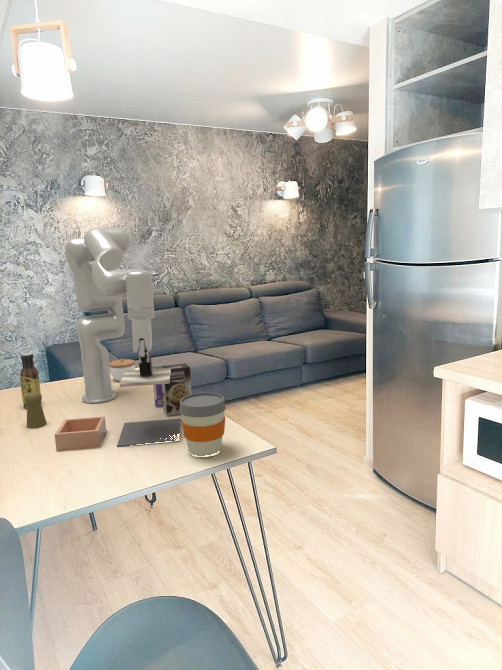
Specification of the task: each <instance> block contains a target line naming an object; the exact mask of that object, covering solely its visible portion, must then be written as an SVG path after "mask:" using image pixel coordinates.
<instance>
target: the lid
mask: <svg viewBox="0 0 502 670" xmlns="http://www.w3.org/2000/svg"><path fill="white" fill-rule="evenodd" d="M146 356H147V355H146ZM151 361H152V355H151V354H150V355H149V362H150V365H151V375H150V376H140V369H137V370H136V369H135V371H125V373H124V375H123V378H122V380H121V382H119V388H126V387H128V388H129V387H141V386H153V385H156V384H169V383H170V375H171V368H163V369H152V365H153V364H152V363H153V362H151Z"/></svg>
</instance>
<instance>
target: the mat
mask: <svg viewBox="0 0 502 670" xmlns="http://www.w3.org/2000/svg"><path fill="white" fill-rule="evenodd" d="M181 420H182V417H181V418H179V417H178V418H168V419H153V420H142V421H132V422H131V421H130V422H124V423H123V426H122V429H121V433H120V436H119V439H118V441H117V444H116V448H121V447H122V448H123V446H125V447H131V446H130V445H136V444H137V445H136V446H139V445H138V444H145V443H155V442H165V441H175V440H176V439H177V438H178V437H177V434H179V433H180V434H181V431H180V427H182V423H181ZM174 434H175V436H176V437H177V438H176V437H175V438H176V439H175V438H174V436H173V435H174ZM169 435H170V436H171V437H172V436H173V437H172V438H173V439H172V438H171V437H170V436H169ZM160 438H161V439H160ZM166 438H167V439H166ZM170 438H171V439H172V440H171V439H170ZM165 439H166V440H165ZM174 439H175V440H174Z"/></svg>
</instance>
